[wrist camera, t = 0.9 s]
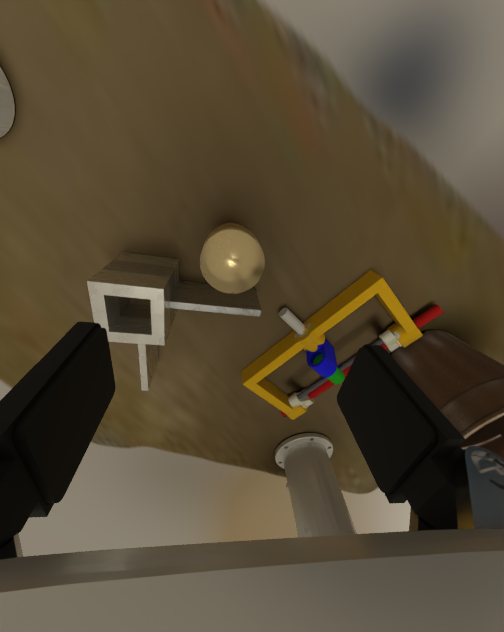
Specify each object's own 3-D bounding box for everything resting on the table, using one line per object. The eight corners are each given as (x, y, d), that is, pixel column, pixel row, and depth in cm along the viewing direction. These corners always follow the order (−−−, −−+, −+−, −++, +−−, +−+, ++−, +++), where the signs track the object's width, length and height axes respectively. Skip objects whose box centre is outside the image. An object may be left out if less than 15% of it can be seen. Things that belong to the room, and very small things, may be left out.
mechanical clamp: (468, 332, 33) (295, 439, 42) (434, 310, 38) (287, 408, 47) (414, 231, 25) (214, 389, 34) (380, 220, 31) (216, 359, 39)
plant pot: (488, 326, 40) (625, 406, 27) (431, 394, 48) (515, 484, 34) (405, 310, 37) (511, 392, 23) (358, 386, 45) (417, 482, 31)
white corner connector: (241, 365, 40) (245, 412, 32) (133, 359, 37) (109, 408, 29) (259, 269, 32) (270, 300, 24) (123, 251, 29) (87, 280, 21)
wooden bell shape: (248, 258, 31) (258, 296, 21) (206, 252, 30) (198, 290, 21) (255, 214, 28) (270, 236, 19) (210, 207, 27) (202, 225, 18)
